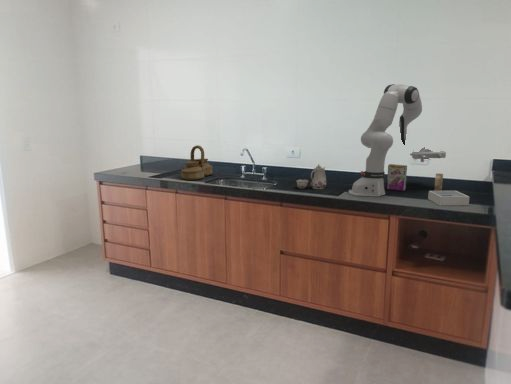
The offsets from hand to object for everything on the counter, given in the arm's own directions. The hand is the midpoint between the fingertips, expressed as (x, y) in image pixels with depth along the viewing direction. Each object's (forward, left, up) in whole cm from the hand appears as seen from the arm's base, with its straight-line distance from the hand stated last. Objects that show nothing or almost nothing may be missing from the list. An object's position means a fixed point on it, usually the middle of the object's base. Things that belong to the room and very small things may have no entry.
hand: (432, 157), depth 260 cm
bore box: (-1, -28, -22) cm, 36 cm away
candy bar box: (-19, +8, -23) cm, 30 cm away
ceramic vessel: (-157, +60, -23) cm, 170 cm away
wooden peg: (-1, -14, -22) cm, 26 cm away
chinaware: (-71, +17, -23) cm, 76 cm away
